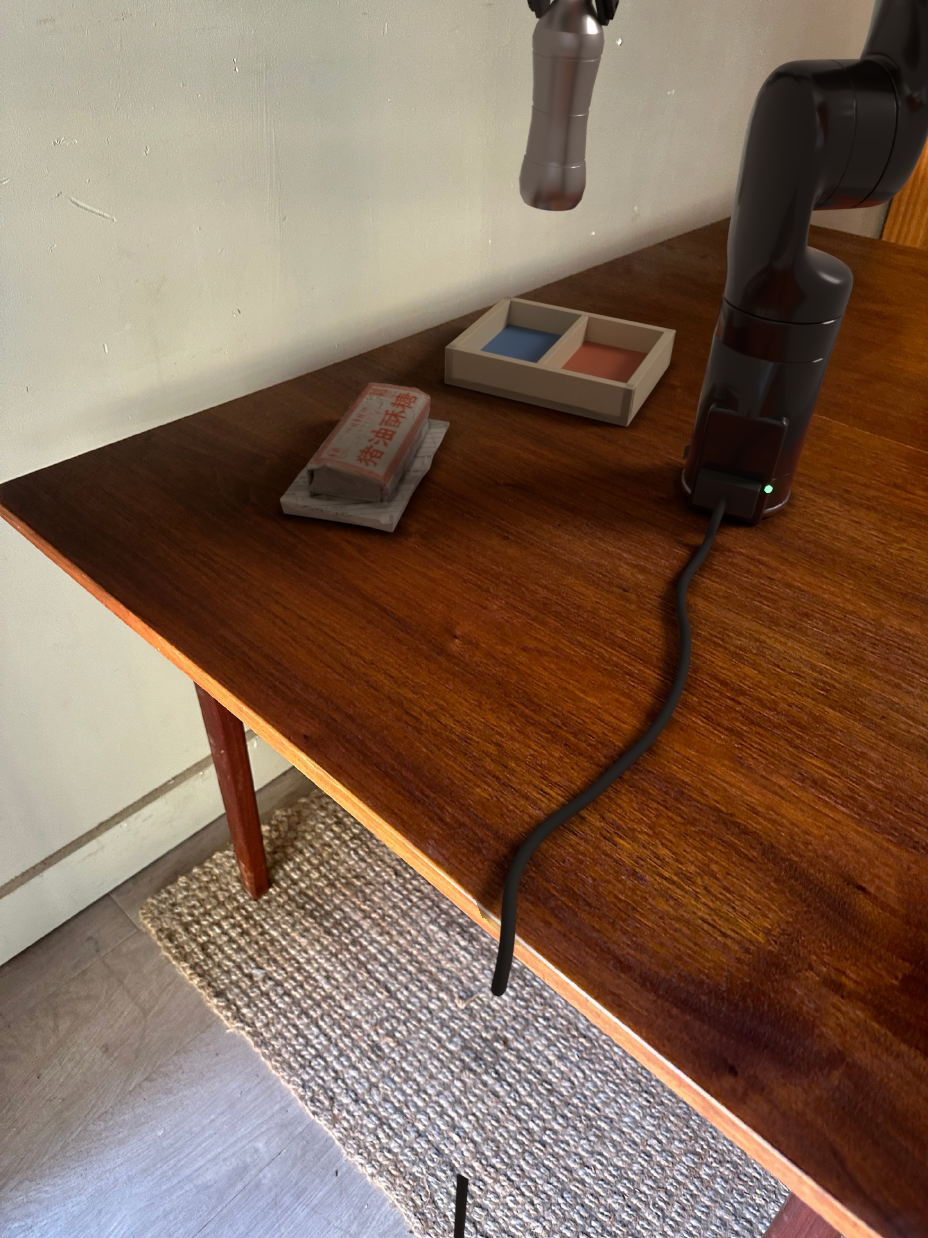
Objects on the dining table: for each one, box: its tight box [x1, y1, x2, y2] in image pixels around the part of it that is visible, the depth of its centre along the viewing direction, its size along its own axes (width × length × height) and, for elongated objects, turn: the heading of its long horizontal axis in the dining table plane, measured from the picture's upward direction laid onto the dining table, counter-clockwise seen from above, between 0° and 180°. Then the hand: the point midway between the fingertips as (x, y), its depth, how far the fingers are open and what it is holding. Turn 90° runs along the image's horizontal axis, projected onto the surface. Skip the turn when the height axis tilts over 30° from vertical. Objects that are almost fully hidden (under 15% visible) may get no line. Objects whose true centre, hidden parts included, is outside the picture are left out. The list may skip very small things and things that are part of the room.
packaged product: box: [279, 381, 451, 533], centre depth 80 cm, size 18×5×10 cm
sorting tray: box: [444, 295, 677, 427], centre depth 97 cm, size 16×20×4 cm
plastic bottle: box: [518, 0, 605, 212], centre depth 86 cm, size 6×7×20 cm
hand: (575, 12), depth 83 cm, fingers closed on plastic bottle, 5 cm apart
